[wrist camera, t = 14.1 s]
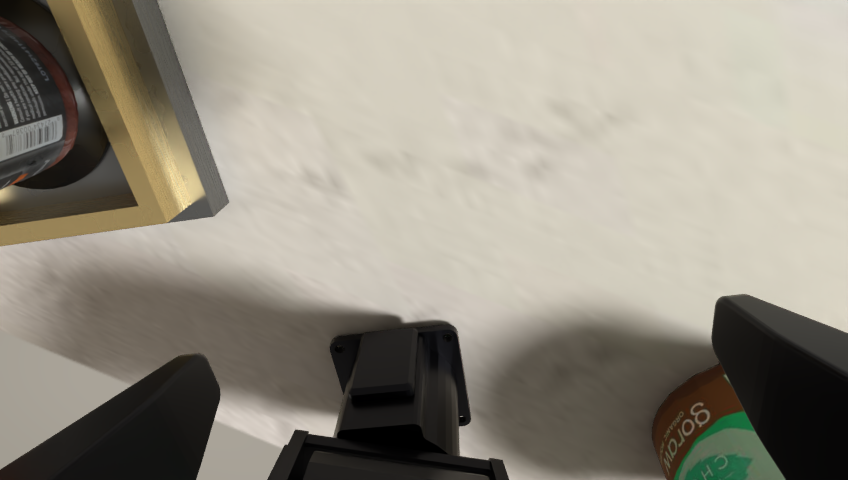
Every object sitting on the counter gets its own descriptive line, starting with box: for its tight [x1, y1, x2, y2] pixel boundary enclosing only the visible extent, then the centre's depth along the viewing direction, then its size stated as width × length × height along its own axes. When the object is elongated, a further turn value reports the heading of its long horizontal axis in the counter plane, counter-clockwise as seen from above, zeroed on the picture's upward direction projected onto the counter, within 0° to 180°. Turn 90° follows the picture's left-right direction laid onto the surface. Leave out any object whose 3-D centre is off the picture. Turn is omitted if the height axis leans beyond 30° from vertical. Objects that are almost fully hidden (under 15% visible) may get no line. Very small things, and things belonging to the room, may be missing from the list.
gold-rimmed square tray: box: [0, 0, 229, 246], centre depth 18 cm, size 12×12×4 cm
